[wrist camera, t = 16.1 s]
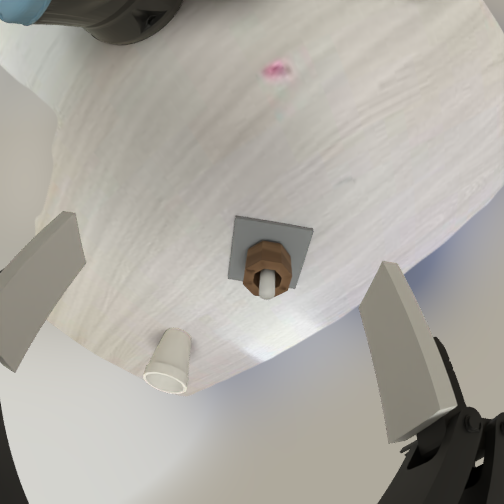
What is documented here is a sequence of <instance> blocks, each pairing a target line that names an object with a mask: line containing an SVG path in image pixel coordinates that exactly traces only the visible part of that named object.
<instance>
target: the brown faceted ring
mask: <svg viewBox="0 0 504 504" xmlns="http://www.w3.org/2000/svg"><path fill="white" fill-rule="evenodd" d="M262 269H270V270H275V296H277V295H279V294H282V293H284V292H286V291H288V288H289V285H290V282H291V279H292V267H291V256H290V255H289V253H288V252H287V251H286V250H285V248H284V247H283V246H282V244H280V243H274V242H268V241H261V242H260V243H258V244H256V245H254V246H253V247H251V248H249V249H248V252H247V258H246V264H245V271H244V279H243V284H244V286H245V287H246V288H247V289H248V290H249V291H250V292H251V293H252V294H253V295H255V296H259V284H260V271H261V270H262ZM275 296H274V297H275Z"/></svg>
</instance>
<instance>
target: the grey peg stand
mask: <svg viewBox="0 0 504 504" xmlns="http://www.w3.org/2000/svg"><path fill="white" fill-rule="evenodd" d="M312 234H313V229H312V228H307V227H301V226H296V225H290V224H284V223H278V222H272V221H266V220H260V219H254V218H248V217H241V216H236V219H235V226H234V234H233V242H232V249H231V257H230V265H229V273H228V279H233V280H239V281H243V279H244V271H245V264H246V258H247V252H248V249H249V248H251V247H253V246H254V245H256V244H258V243H260V242H261V241H268V242H274V243H280V244H282V246H283V247H284V248H285V250H286V251H287V252H288V253H289V255H290V256H291V267H292V279H291V282H290V285H289V288H293V289H295V288H296V285H297V282H298V279H299V275H300V272H301V269H302V266H303V263H304V260H305V257H306V254H307V251H308V247H309V244H310V241H311V238H312ZM259 296H260V297H261V298H262V299H266V300H269V299H272V298H273V297H274V296H275V270H270V269H262V270H261V271H260V284H259Z"/></svg>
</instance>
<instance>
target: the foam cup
mask: <svg viewBox="0 0 504 504" xmlns="http://www.w3.org/2000/svg"><path fill="white" fill-rule="evenodd" d="M190 349H191V337H190V335H189V334H188V333H187V332H186V331H184V330H182V329H178V328H169V329H168V330H166V332H165V333H164V335H163V337H162V339H161V341H160V343H159V345H158V346H157V348H156V350H155V352H154V354H153V356H152V358H151V360H150V362H149V364H148V365H146V368H145V371H144V374H143V379H144V380H145V381H146V382H147V384H149V385H150V386H152V387H153V388H155V389H158V390H160V391H163V392H167V393H172V394H181V393H183V392H186V389H187V385H188V380H189V378H188V371H189V360H190Z"/></svg>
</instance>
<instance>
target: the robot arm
mask: <svg viewBox="0 0 504 504" xmlns="http://www.w3.org/2000/svg"><path fill="white" fill-rule="evenodd" d="M182 2H183V0H0V19H1V20H2V21H4V22H7V23H17V24H23V25H25V26H29V25H32V24H46V25H64V26H74V27H83V28H84V29H85V30H86V31H88V32H89V33H90V34H91V35H92V36H93V37H94V38H96V39H98V40H100V41H102V42H105V43H111V44H119V45H124V44H131V43H135V42H138V41H141V40H144V39H146V38H148V37H150V36H151V35H153V34H155V33H156V32H158V31H159V30H160V29H162V28H163V27H164V26H165V25H166V24H167V23H168V22H169V21H170V20H171V19H172V18H173V17H174V15H175V14H176V13H177V11H178V9H179V8H180V6H181V4H182ZM85 264H86V260H85V256H84V252H83V248H82V243H81V239H80V234H79V229H78V224H77V219H76V213H73V212H66V211H63V212H62V213H61V214H59V215H58V216H57V217H56V218H55V219H54V220H53V221H51V222H50V223H49V224H48V225H47V226H46V227H45V228H44V229H43V230H42V231H41V232H39V233H38V234H37V235H36V236H35V237H34V238H33V239H32V240H31V241H30V242H29V243H28V244H27V245H26V246H25V247H24V248H23V249H22V250H21V251H20V252H19V253H18V254H17V255H16V256H15V258H14V259H13V260H12V261H11V262H10V263H9V264H8V265H7V266H6V267H5V268H4V269H3V270H1V271H0V362H1V363H2V364H3V365H4V366H5V367H7V368H8V369H10V370H11V371H13V372H14V373H15V372H16V370H17V368H18V366H19V365H20V363H21V361H22V359H23V357H24V356H25V354H26V352H27V350H28V348H29V347H30V345H31V343H32V342H33V340H34V338H35V337H36V335H37V333H38V332H39V330H40V328H41V327H42V325H43V324H44V322H45V321H46V319H47V317H48V316H49V314H50V313H51V311H52V310H53V308H54V307H55V305H56V304H57V302H58V301H59V299H60V298H61V297H62V295H63V294H64V292H65V291H66V290H67V288H68V287H69V285H70V284H71V283H72V281H73V280H74V279H75V277H76V276H77V275H78V273H79V272H80V271H81V269H82V268H83V267H84V265H85ZM359 311H360V315H361V318H362V322H363V326H364V329H365V333H366V337H367V341H368V345H369V348H370V353H371V357H372V361H373V365H374V369H375V374H376V378H377V383H378V387H379V392H380V397H381V402H382V407H383V413H384V418H385V424H386V430H387V437H388V443H389V444H390V443H395V442H400V441H405V440H407V439H409V438H411V437H412V436H414V435H417V440H416V441H414V442H413V443H411V444H409V445H407V446H405V447H403V448H402V450H401V451H400V453H403V452H405V451H407V450H409V449H410V450H409V452H407V453H406V454H405V456H406V458H405V460H404V461H403V463H402V465H401V467H400V469H399V471H398V472H397V474H396V476H395V477H394V479H393V480H392V482H391V484H390V485H389V487H388V489H387V490H386V492H385V493H384V495H383V496H382V498H381V499H380V501H379V502H378V504H504V412H503V413H500V414H499V415H498V416H496V417H495V418H494V419H486V418H481V416H480V414H479V412H478V411H477V410H476V409H474V408H472V407H466V404H465V402H464V399H463V395H462V392H461V389H460V387H459V383H458V380H457V378H456V375H455V372H454V371H453V367H452V364H451V362H450V361H449V357H448V354H447V352H446V349H445V347H444V346H443V344H442V343H441V342H440V341H439V339H438V338H437V337H433V336H432V333H431V331H430V329H429V327H428V325H427V322H426V320H425V318H424V316H423V313H422V311H421V309H420V307H419V305H418V303H417V301H416V299H415V297H414V294H413V292H412V290H411V288H410V286H409V285H408V283H407V281H406V279H405V277H404V275H403V273H402V271H401V269H400V267H399V266H398V264H397V263H392V262H386V261H382V263H381V265H380V267H379V269H378V272H377V274H376V276H375V278H374V279H373V281H372V283H371V285H370V287H369V289H368V291H367V293H366V295H365V297H364V299H363V300H362V302H361V304H360V306H359ZM483 457H484V462H483V464H482V465H480V466H478V467H475V461H477V460H479V459H481V458H483ZM0 504H29V503H28V500H27V498H26V496H25V493H24V490H23V488H22V485H21V483H20V480H19V477H18V475H17V471H16V468H15V465H14V462H13V458H12V455H11V451H10V447H9V443H8V439H7V435H6V430H5V426H4V421H3V416H2V410H1V403H0Z"/></svg>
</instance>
